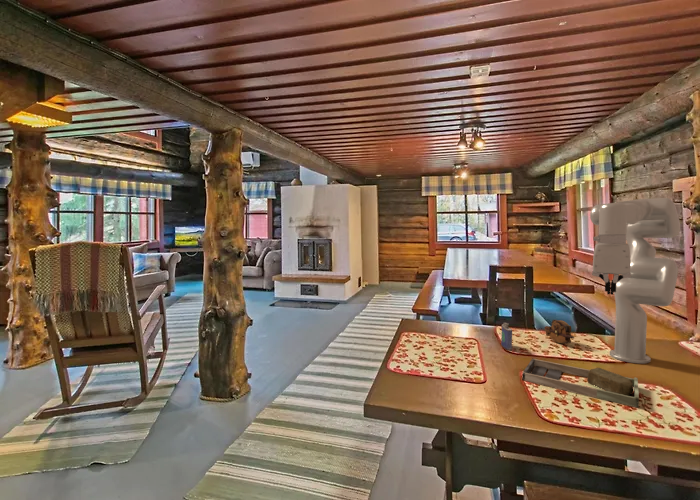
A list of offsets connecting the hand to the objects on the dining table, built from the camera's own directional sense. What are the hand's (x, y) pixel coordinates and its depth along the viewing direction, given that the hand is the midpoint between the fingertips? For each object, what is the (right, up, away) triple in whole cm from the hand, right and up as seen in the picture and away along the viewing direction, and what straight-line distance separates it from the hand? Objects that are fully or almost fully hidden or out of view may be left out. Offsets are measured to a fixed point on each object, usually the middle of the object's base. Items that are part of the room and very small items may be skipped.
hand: (610, 293), depth 118 cm
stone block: (-5, -30, -7) cm, 31 cm away
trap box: (-13, -30, -3) cm, 32 cm away
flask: (-21, -28, +33) cm, 48 cm away
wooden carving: (+5, -27, +38) cm, 47 cm away
